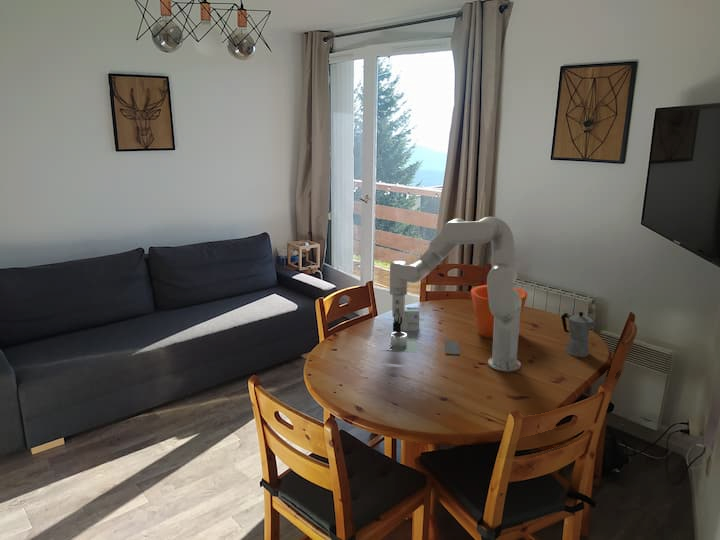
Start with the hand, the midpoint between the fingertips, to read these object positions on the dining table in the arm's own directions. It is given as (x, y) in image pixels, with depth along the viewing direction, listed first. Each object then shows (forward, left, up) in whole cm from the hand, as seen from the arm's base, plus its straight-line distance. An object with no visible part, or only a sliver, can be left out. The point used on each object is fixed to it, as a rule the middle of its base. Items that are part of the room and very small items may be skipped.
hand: (397, 327), depth 224 cm
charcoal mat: (0, -20, -9) cm, 21 cm away
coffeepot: (+1, -75, -9) cm, 75 cm away
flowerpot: (+20, -45, -9) cm, 50 cm away
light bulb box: (+20, -4, -9) cm, 22 cm away
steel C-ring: (0, -1, -8) cm, 8 cm away
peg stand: (0, -1, -9) cm, 9 cm away
